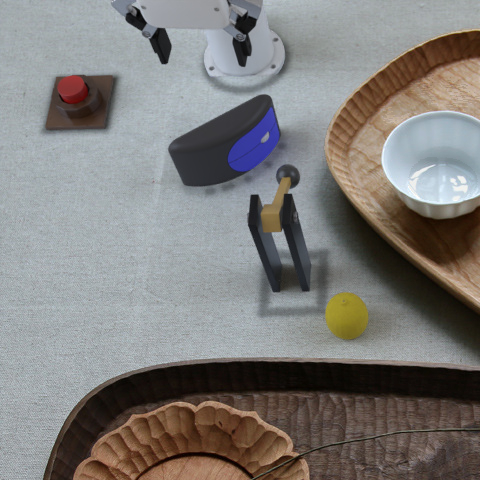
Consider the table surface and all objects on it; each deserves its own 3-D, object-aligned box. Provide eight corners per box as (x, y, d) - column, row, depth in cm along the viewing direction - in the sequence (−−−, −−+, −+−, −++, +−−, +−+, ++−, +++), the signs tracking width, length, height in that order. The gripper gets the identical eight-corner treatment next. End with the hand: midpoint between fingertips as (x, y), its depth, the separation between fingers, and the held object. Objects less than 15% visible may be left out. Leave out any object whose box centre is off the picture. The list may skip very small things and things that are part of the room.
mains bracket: (267, 255, 113) (239, 178, 97) (324, 254, 113) (305, 177, 97) (262, 312, 109) (233, 242, 94) (321, 311, 109) (301, 240, 94)
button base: (58, 79, 127) (51, 67, 125) (114, 78, 127) (108, 66, 124) (46, 130, 123) (39, 118, 121) (104, 129, 123) (98, 117, 121)
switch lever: (279, 183, 110) (276, 160, 108) (302, 183, 110) (300, 160, 108) (259, 235, 97) (255, 210, 95) (286, 235, 97) (282, 210, 95)
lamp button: (64, 84, 124) (59, 75, 122) (90, 83, 124) (85, 74, 122) (60, 104, 122) (55, 96, 121) (86, 103, 122) (81, 95, 121)
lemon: (340, 356, 106) (333, 327, 99) (322, 323, 108) (314, 293, 101) (378, 338, 107) (373, 308, 100) (359, 305, 109) (353, 274, 102)
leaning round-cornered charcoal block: (197, 206, 117) (178, 163, 108) (182, 185, 118) (162, 141, 109) (294, 153, 119) (282, 107, 111) (278, 133, 121) (266, 86, 112)
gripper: (249, -95, 84) (279, 35, 100) (87, -98, 85) (142, 31, 101) (238, -42, 81) (271, 83, 97) (70, -46, 82) (130, 78, 98)
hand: (205, 56), depth 99 cm, fingers open, 9 cm apart
